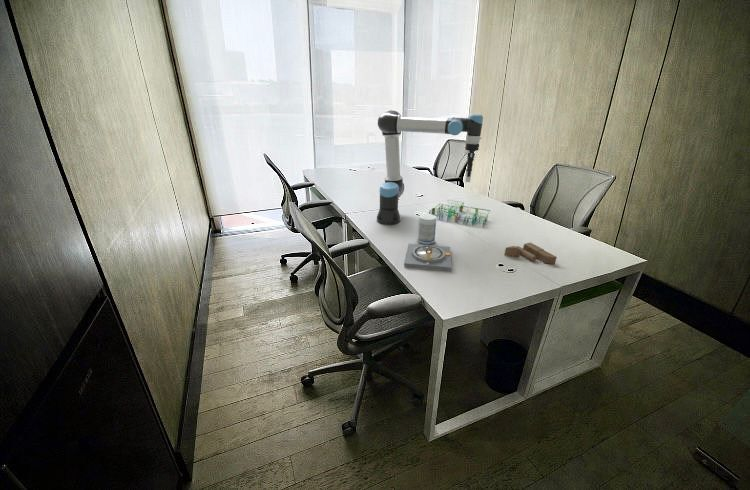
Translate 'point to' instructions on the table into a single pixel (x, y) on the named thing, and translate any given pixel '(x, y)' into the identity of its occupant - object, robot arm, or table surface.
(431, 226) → the supplement tub
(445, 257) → the dial plate
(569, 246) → the table surface
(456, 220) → the house model
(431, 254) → the dial
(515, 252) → the wooden block set
